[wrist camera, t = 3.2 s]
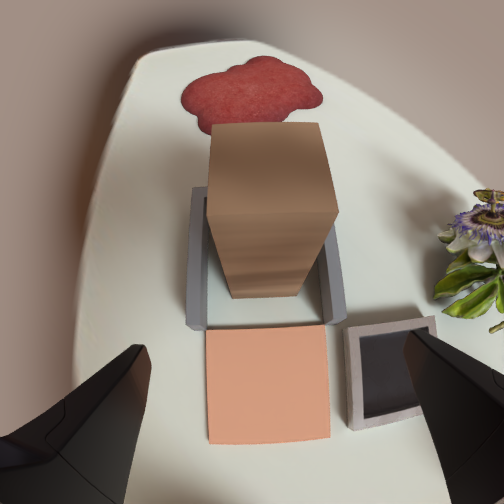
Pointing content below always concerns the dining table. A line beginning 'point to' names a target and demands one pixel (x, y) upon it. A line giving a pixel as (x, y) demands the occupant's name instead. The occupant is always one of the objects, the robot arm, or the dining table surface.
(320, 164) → the walnut block
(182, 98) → the patty
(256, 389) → the pad
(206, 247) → the channel
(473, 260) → the passion flower
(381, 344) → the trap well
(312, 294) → the dining table surface
